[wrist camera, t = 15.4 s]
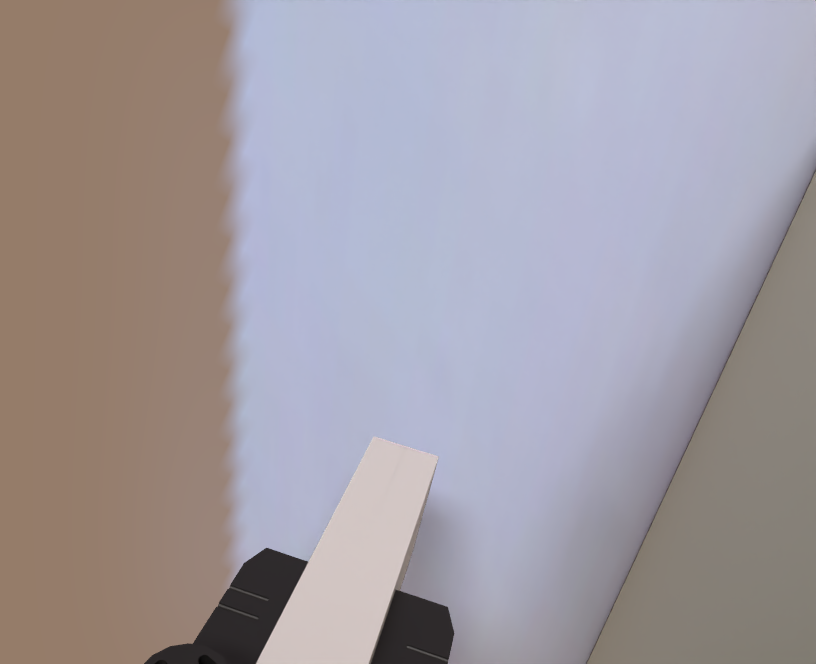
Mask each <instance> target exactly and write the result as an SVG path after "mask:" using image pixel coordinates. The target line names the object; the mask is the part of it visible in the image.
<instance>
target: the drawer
mask: <svg viewBox="0 0 816 664" xmlns="http://www.w3.org/2000/svg"><path fill="white" fill-rule="evenodd" d="M587 664H816V172H815V174H814V176H813V178H812V180H811V182H810V185H809V187H808V189H807V191H806V193H805V195H804V198H803V200H802V202H801V204H800V206H799V208H798V210H797V213H796V215H795V217H794V219H793V221H792V223H791V226H790V228H789V230H788V232H787V234H786V236H785V238H784V241H783V243H782V245H781V247H780V249H779V251H778V254H777V256H776V258H775V260H774V262H773V264H772V266H771V269H770V271H769V273H768V275H767V277H766V279H765V281H764V284H763V286H762V288H761V290H760V292H759V294H758V297H757V299H756V301H755V303H754V305H753V307H752V309H751V312H750V314H749V316H748V318H747V320H746V322H745V325H744V327H743V329H742V331H741V333H740V335H739V337H738V340H737V342H736V344H735V346H734V348H733V350H732V352H731V355H730V357H729V359H728V361H727V363H726V365H725V368H724V370H723V372H722V374H721V376H720V378H719V380H718V383H717V385H716V387H715V389H714V391H713V393H712V396H711V398H710V400H709V402H708V404H707V406H706V408H705V411H704V413H703V415H702V417H701V419H700V421H699V424H698V426H697V428H696V430H695V432H694V434H693V436H692V439H691V441H690V443H689V445H688V447H687V449H686V451H685V454H684V456H683V458H682V460H681V462H680V464H679V467H678V469H677V471H676V473H675V475H674V477H673V479H672V482H671V484H670V486H669V488H668V490H667V492H666V495H665V497H664V499H663V501H662V503H661V505H660V507H659V510H658V512H657V514H656V516H655V518H654V520H653V522H652V525H651V527H650V529H649V531H648V533H647V535H646V538H645V540H644V542H643V544H642V546H641V548H640V550H639V553H638V555H637V557H636V559H635V561H634V563H633V566H632V568H631V570H630V572H629V574H628V576H627V578H626V581H625V583H624V585H623V587H622V589H621V591H620V594H619V596H618V598H617V600H616V602H615V604H614V606H613V609H612V611H611V613H610V615H609V617H608V619H607V621H606V624H605V626H604V628H603V630H602V632H601V634H600V637H599V639H598V641H597V643H596V645H595V647H594V649H593V652H592V654H591V656H590V658H589V660H588V662H587Z"/></svg>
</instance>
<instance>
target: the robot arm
mask: <svg viewBox="0 0 816 664" xmlns="http://www.w3.org/2000/svg"><path fill="white" fill-rule="evenodd" d="M438 458H439V457H438V456H435V455H432V454H429V453H426V452H422V451H419V450H416V449H413V448H409V447H406V446H403V445H400V444H397V443H393V442H390V441H387V440H384V439H381V438H377V437H373V439H372V441H371V442H370V444H369V446H368V448H367V450H366V452H365V454H364V456H363V458H362V460H361V462H360V464H359V466H358V468H357V469H356V471H355V473H354V475H353V477H352V479H351V481H350V483H349V485H348V487H347V489H346V491H345V493H344V495H343V496H342V498H341V500H340V502H339V504H338V506H337V508H336V510H335V512H334V514H333V516H332V518H331V520H330V522H329V524H328V525H327V527H326V529H325V531H324V533H323V535H322V537H321V539H320V541H319V543H318V545H317V547H316V549H315V551H314V552H313V554H312V556H311V558H310V560H309V562H307V561H304V560H301V559H298V558H295V557H292V556H289V555H286V554H283V553H280V552H278V551H275V550H272V549H269V548H266V549H264V550H263V551H261V552H260V553H258V554H257V555H255V556H254V557H252V558H251V559H250V560H248V561H247V562H245V563H244V564H243V566H242V567H241V569H240V571H239V572H238V574H237V575H236V577H235V578H234V580H233V582H232V583H231V585H230V588H229V589H227V591H226V593H225V594H224V596H223V597H222V599H221V600H220V602H219V605H218V607H216V608H215V610H214V611H213V613H212V615H211V616H210V618H209V619H208V621H207V622H206V624H205V625H204V627H203V629H202V630H201V632H200V633H199V635H198V636H197V638H196V640H195V641H194V643H193V644H183V645H176V646H170V647H168V648H166V649H164V650H162V651H160V652H158V653H156V654H154V655H152V656H151V657H150V658H149V659H148V660H147V661H146V662H145V663H144V664H447V663H448V659H449V655H450V650H451V646H452V641H453V636H454V630H453V626H452V622H451V618H450V614H449V610H448V607H446V606H443V605H440V604H437V603H434V602H431V601H428V600H425V599H422V598H419V597H416V596H413V595H410V594H407V593H404V592H401V591H400V589H401V586H402V583H403V580H404V577H405V573H406V570H407V567H408V564H409V561H410V558H411V555H412V552H413V549H414V545H415V542H416V538H417V534H418V531H419V527H420V523H421V520H422V516H423V512H424V509H425V505H426V501H427V498H428V494H429V491H430V487H431V483H432V480H433V476H434V472H435V469H436V465H437V461H438Z"/></svg>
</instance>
